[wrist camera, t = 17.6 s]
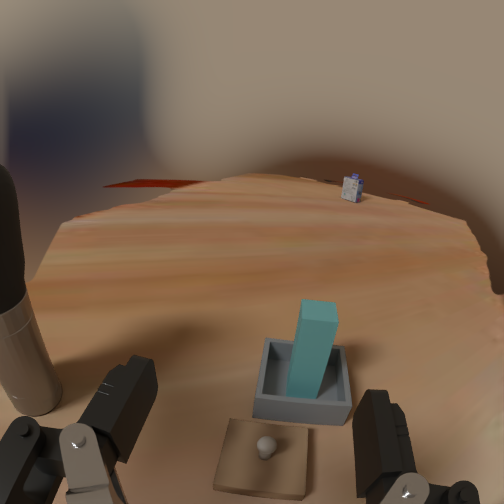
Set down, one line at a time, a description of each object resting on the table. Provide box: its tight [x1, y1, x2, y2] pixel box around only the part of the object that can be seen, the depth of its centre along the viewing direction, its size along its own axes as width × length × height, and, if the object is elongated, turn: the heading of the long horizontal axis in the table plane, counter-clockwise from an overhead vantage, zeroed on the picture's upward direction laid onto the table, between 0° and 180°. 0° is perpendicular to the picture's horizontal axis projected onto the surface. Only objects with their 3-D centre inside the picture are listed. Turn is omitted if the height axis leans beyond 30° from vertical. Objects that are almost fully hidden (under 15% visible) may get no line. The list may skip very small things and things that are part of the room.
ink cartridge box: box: [341, 174, 364, 202], centre depth 160 cm, size 10×6×14 cm, turn 38°
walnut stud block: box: [213, 418, 308, 501], centre depth 30 cm, size 10×10×6 cm
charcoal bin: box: [252, 338, 352, 426], centre depth 43 cm, size 13×13×4 cm
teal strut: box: [286, 299, 339, 399], centre depth 40 cm, size 4×4×14 cm
